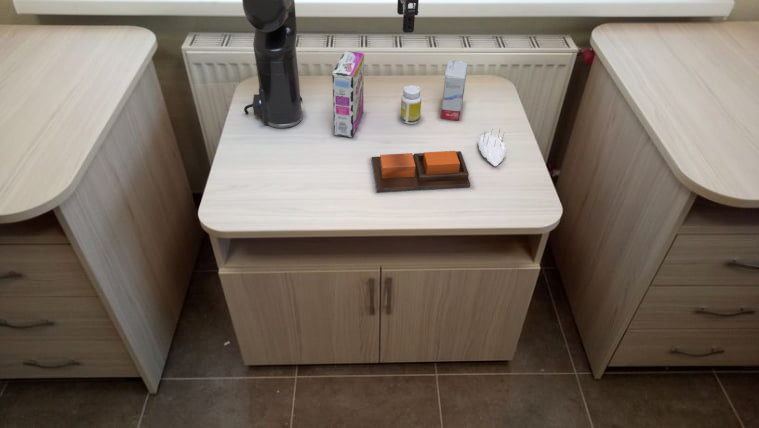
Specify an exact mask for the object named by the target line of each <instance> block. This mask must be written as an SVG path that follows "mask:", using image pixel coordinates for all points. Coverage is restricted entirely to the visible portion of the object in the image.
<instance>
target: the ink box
mask: <svg viewBox="0 0 759 428" xmlns="http://www.w3.org/2000/svg"><path fill="white" fill-rule="evenodd" d="M467 72H468V61H460V60H455V59H448V60H447V63H446V69H445V72H444V84H443V92H442V100H441V101H442V102H441V108H440V109H441V110H440V111H441V112H440V119H441V120H443V119H444V120H449V121H450V120H451V121H460V120H461V115H462V114H461V113H462V107H463V102H464V101H463V100H464V93H465V86H466V80H467Z"/></svg>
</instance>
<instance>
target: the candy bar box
mask: <svg viewBox="0 0 759 428" xmlns="http://www.w3.org/2000/svg"><path fill="white" fill-rule="evenodd" d="M364 76H365V53H362V52H357V51H348V50H344V51H343V53H342V55H341V56H340V59H339V61H338V62H337V64H336V65H335V67H334V69H333V71H332V73H331V77H332V78H331V79H332V112H333V113H332V115H333V136H338V137H344V138H351V139H352V138H354V136H355V133H356V131H357V128H358V126H359V124H360V121H361V119H362V117H363V114H364V84H365V83H364V80H365V79H364V78H365V77H364Z"/></svg>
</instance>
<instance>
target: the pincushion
mask: <svg viewBox="0 0 759 428" xmlns="http://www.w3.org/2000/svg"><path fill="white" fill-rule="evenodd" d="M491 130H494V129H493V128H492V129H491ZM500 132H501V129H499V131H498V133H500ZM499 135H500V134H498V135H497V134H494V133H493V131H491V132H484V133H482V134H481V135H479V136H478V138H477V145H478V149H479V152H480V153H481V155H482V157H483V158H485V159H486V160H487V162H489V163H490V164H491V165H492V166H493V167H498V165H500V163H502V162H503V160H504V159H505V158H506V154H507V147H506V144H505V142H504V138H502V137H504V135H505V133H503V134H502V137H500V136H499Z"/></svg>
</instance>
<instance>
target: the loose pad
mask: <svg viewBox="0 0 759 428" xmlns="http://www.w3.org/2000/svg"><path fill="white" fill-rule="evenodd" d="M423 153H424V157H423V165H424V169H425V173H426V174H440V173H459V166H460V162H459V159H458V157H457V154H456V150H445V151H443V150H442V151H424V152H423Z"/></svg>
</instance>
